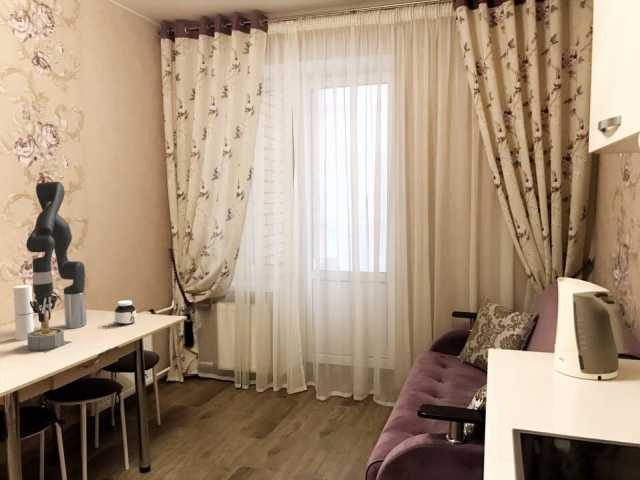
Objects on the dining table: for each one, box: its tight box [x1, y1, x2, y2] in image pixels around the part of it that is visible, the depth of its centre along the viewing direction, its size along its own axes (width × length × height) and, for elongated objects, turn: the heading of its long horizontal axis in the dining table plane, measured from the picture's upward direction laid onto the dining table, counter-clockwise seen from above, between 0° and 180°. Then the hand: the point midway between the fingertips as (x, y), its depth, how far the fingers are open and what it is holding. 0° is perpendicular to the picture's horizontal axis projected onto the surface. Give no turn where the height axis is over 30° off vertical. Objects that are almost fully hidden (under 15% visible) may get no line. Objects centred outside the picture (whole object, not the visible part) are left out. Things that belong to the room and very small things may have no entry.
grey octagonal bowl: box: [26, 327, 65, 351], centre depth 218 cm, size 14×14×6 cm
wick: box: [40, 310, 50, 334], centre depth 217 cm, size 3×3×14 cm
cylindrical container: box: [13, 284, 35, 342], centre depth 228 cm, size 7×7×25 cm
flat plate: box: [18, 340, 73, 353], centre depth 218 cm, size 16×14×1 cm
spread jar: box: [114, 300, 137, 327], centre depth 260 cm, size 12×11×12 cm
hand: (44, 320), depth 217 cm, fingers closed on wick, 2 cm apart
